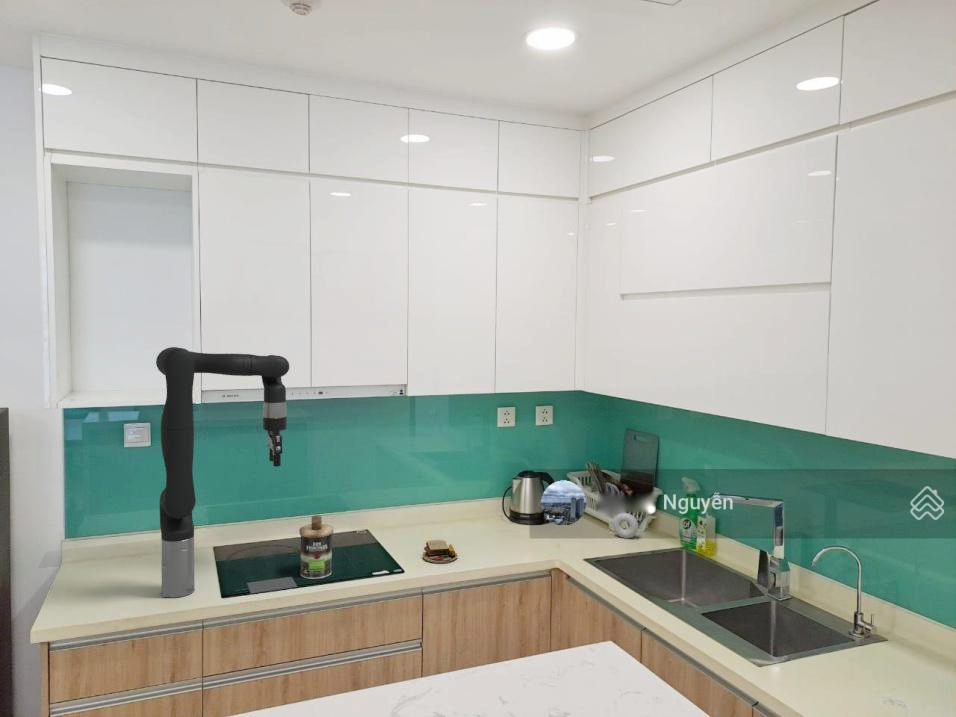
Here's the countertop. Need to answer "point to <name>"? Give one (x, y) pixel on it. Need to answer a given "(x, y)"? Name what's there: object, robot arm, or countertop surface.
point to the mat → (271, 585)
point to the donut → (621, 531)
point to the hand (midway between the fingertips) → (274, 463)
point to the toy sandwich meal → (439, 552)
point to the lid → (316, 528)
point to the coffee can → (316, 557)
